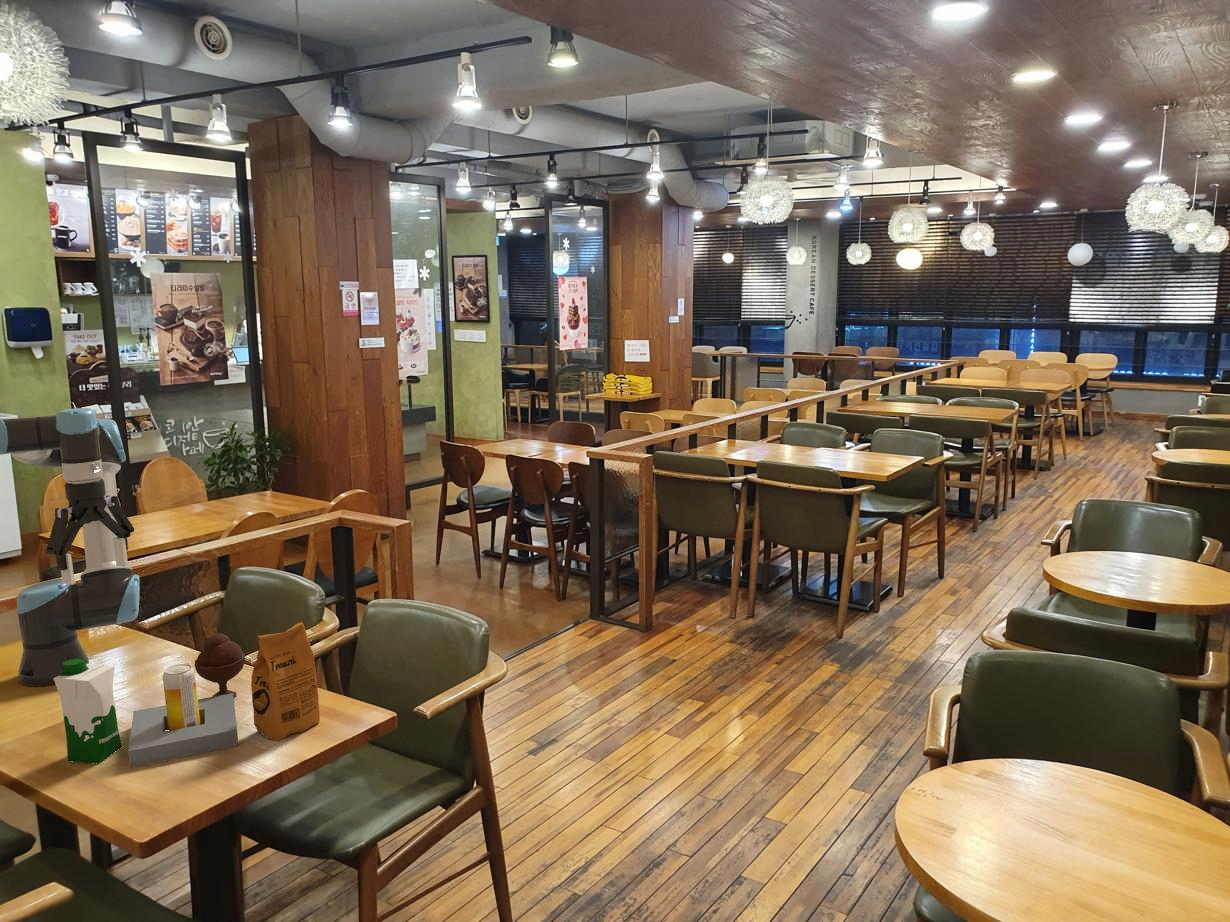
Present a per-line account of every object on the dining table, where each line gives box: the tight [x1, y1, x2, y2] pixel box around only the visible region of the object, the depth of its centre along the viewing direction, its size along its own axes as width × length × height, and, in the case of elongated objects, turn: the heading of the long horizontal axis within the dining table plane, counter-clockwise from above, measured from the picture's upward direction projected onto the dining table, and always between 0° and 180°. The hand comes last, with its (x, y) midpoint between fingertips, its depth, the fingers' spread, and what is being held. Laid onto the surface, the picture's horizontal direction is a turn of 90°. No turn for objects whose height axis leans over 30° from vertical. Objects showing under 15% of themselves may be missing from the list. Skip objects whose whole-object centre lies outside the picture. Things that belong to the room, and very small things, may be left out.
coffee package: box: [250, 622, 321, 742], centre depth 197 cm, size 10×12×22 cm
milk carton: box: [54, 658, 123, 765], centre depth 187 cm, size 9×9×20 cm
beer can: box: [162, 663, 200, 731], centre depth 195 cm, size 6×6×15 cm
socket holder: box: [127, 693, 240, 768], centre depth 196 cm, size 20×20×4 cm
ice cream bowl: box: [194, 633, 246, 699], centre depth 213 cm, size 11×11×15 cm
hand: (96, 574), depth 204 cm, fingers open, 13 cm apart
